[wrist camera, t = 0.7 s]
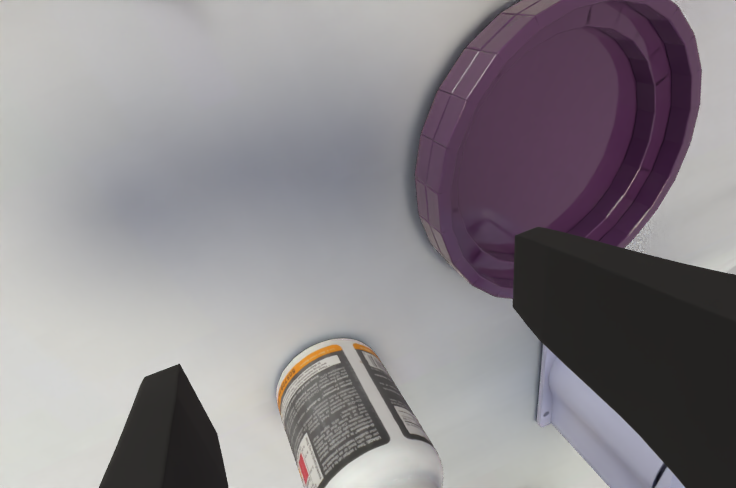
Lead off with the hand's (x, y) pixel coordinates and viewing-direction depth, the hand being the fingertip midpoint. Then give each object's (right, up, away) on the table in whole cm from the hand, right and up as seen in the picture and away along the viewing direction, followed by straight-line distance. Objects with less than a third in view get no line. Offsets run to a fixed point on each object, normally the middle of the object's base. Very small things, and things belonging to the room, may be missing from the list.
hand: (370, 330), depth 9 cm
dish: (+8, +6, +13) cm, 17 cm away
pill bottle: (-2, -5, +15) cm, 16 cm away
